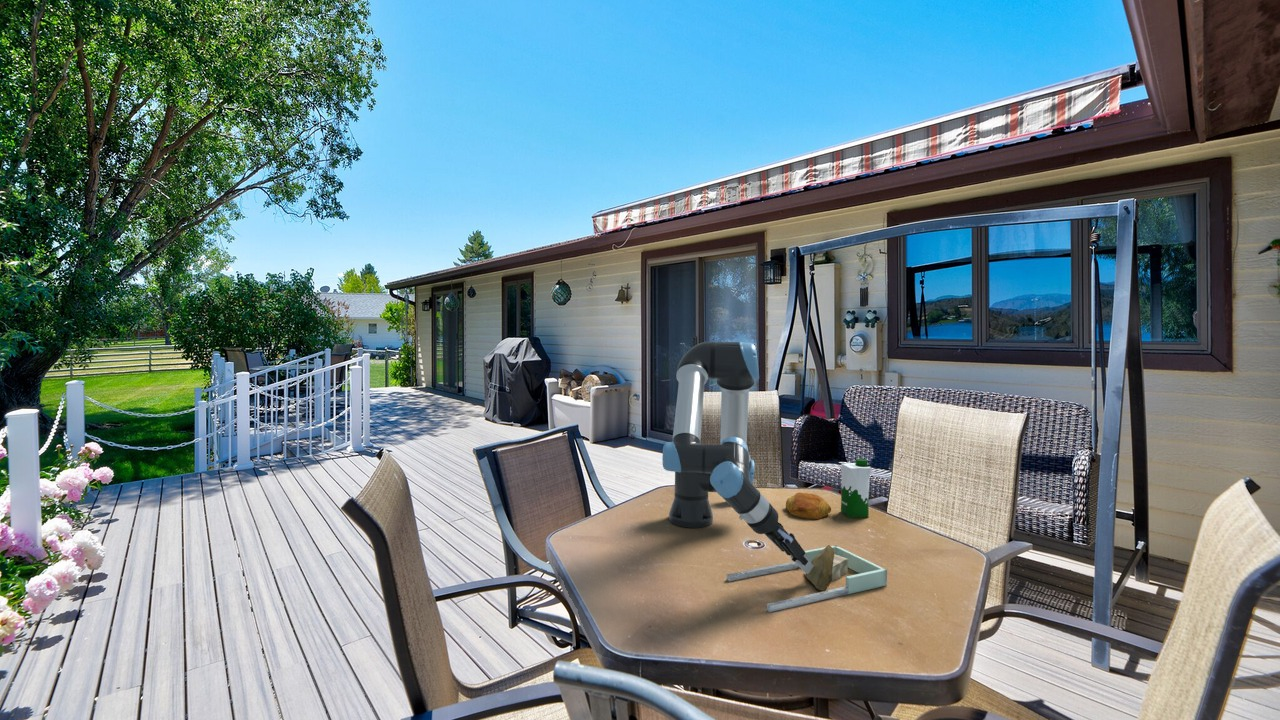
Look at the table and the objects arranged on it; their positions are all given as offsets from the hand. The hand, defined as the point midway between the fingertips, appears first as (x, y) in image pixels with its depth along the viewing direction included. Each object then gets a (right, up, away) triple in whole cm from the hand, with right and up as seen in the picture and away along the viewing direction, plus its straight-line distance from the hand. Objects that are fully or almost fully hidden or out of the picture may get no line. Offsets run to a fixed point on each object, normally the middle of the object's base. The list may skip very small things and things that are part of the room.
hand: (808, 568), depth 141 cm
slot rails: (-7, -4, -3) cm, 8 cm away
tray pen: (+10, -4, +5) cm, 11 cm away
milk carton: (+34, -2, +57) cm, 66 cm away
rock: (+2, -4, 0) cm, 4 cm away
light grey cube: (+7, -4, +4) cm, 9 cm away
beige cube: (+10, -4, +7) cm, 12 cm away
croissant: (+17, -2, +57) cm, 60 cm away
